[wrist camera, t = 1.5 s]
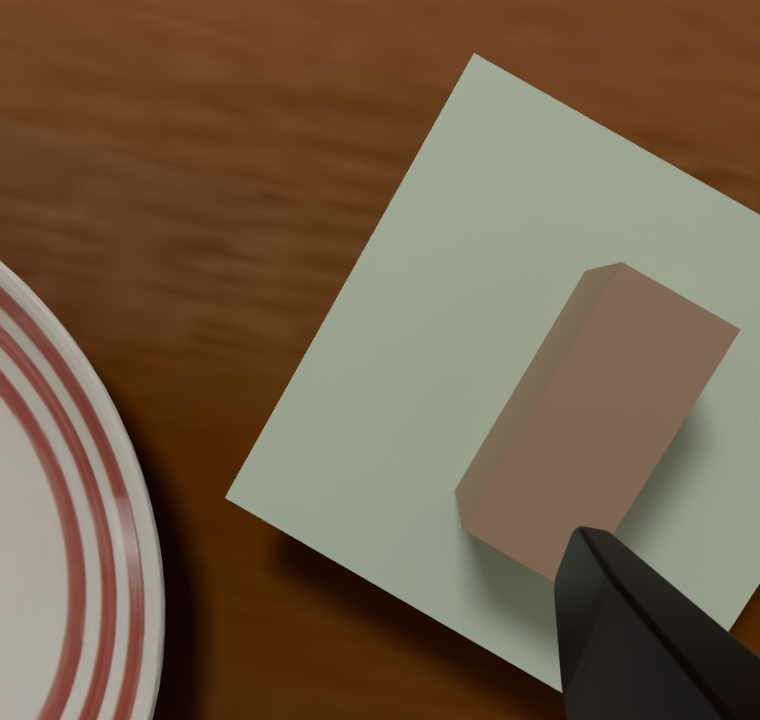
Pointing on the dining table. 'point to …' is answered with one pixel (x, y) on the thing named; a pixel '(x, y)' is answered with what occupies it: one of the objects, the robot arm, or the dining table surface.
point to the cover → (529, 378)
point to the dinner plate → (71, 533)
